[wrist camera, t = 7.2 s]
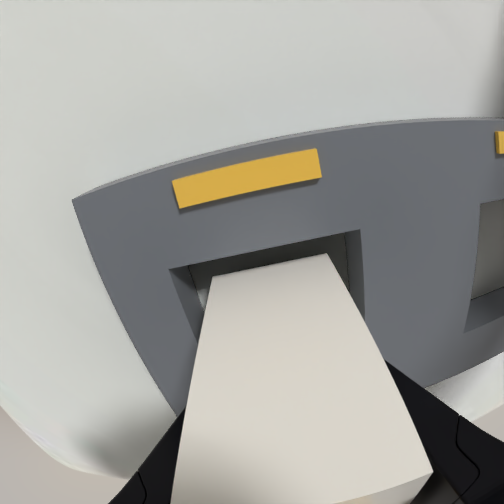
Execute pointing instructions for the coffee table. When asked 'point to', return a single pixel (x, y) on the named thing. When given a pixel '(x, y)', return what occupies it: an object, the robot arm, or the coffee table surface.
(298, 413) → the plug
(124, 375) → the coffee table surface
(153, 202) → the panel
